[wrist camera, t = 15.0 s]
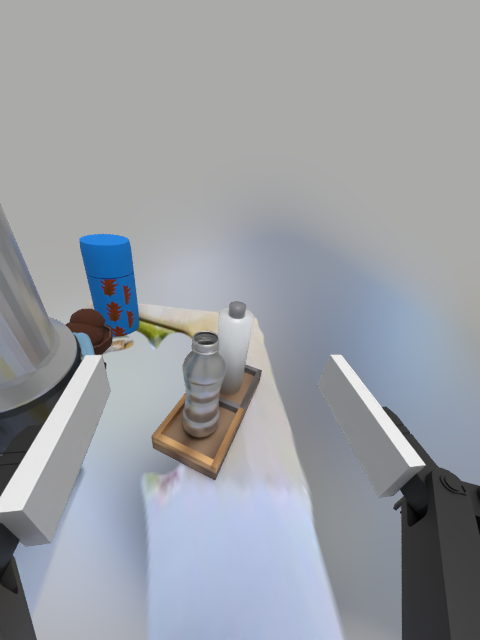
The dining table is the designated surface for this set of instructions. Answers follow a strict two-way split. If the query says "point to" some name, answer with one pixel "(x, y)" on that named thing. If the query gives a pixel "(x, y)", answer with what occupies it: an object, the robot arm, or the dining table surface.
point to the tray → (211, 448)
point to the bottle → (234, 344)
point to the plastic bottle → (203, 384)
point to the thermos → (111, 280)
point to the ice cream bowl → (92, 329)
